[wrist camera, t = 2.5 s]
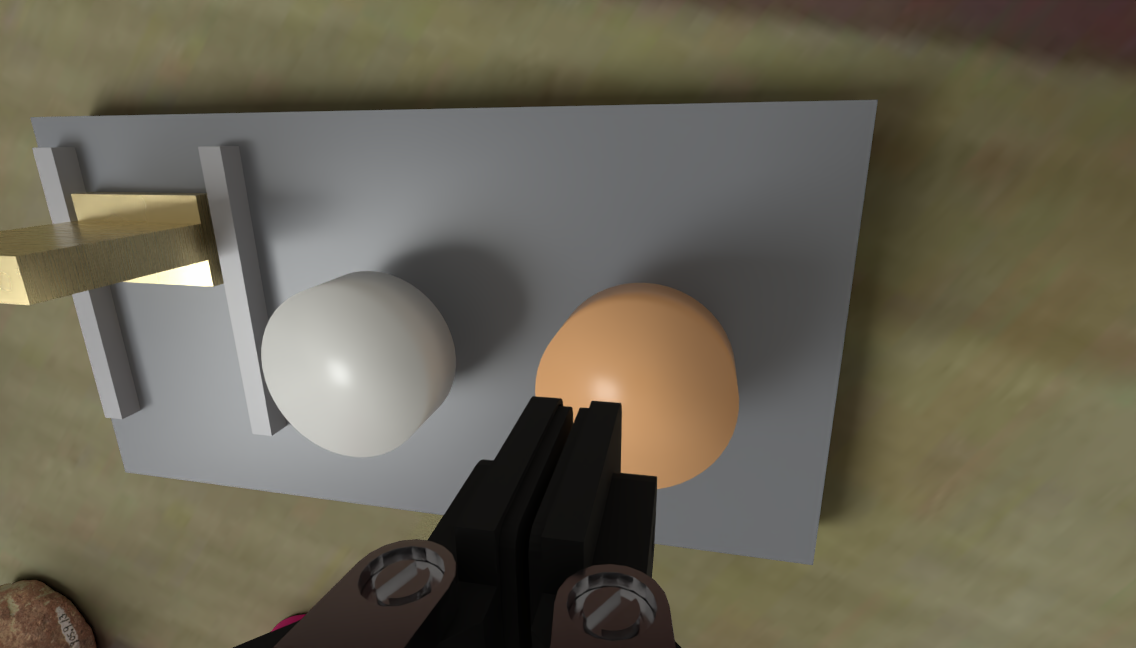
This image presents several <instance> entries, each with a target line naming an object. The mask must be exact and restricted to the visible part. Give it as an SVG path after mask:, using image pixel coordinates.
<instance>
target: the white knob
mask: <svg viewBox="0 0 1136 648" xmlns="http://www.w3.org/2000/svg"><path fill="white" fill-rule="evenodd" d="M261 360H262V369H263V373H264V377H265V381H266V384H267V387H268V389H269V392H270V394H271V396H272V398H273V400H274V402H275V403H276V405H277V407H278V408H279V410H280V411H281V413H282V414H283V415H284V417H285V418H286V419H287V420H288V421H289V422H290V424H291V425H292V426H293V427H294V428H295V429H296V430H298V431H299V432H300V433H301V434H302V435H303V436H305V437H306V438H307V439H309V440H310V441H312V442H313V443H315V444H317V445H319V446H320V447H322V448H324V449H327V450H329V451H331V452H334V453H338V454H341V455H346V456H351V457H373V456H377V455H382V454H384V453H387V452H390V451H392V450H394V449H395V448H397V447H399V446H400V445H401V444H403V443H404V442H405V441H406V440H407V439H408V438H409V437H410V436H411V435H412V434H413V433H414V432H415V431H416V430H417V429H418V428H419V427H420V426H421V425H422V424H423V423H424V422H425V421H426V420H427V419H428V418H429V417H430V416H431V415H432V414H433V413H434V412H435V411H436V410H437V409H438V408H439V407H440V405H441V404H442V403H443V402H444V400H445V399H446V397H447V396H448V394H449V392H450V390H451V387H452V384H453V381H454V377H455V370H456V355H455V347H454V343H453V339H452V336H451V333H450V331H449V328H448V326H447V324H446V322H445V320H444V318H443V316H442V315H441V313H440V312H439V311H438V309H437V308H436V306H435V305H434V304H433V303H432V302H431V301H430V300H429V298H428V297H426V296H425V295H424V294H423V293H422V292H421V291H420V290H418V289H417V288H416V287H414V286H413V285H411V284H410V283H408V282H406V281H404V280H402V279H400V278H398V277H395V276H393V275H390V274H386V273H382V272H375V271H359V272H353V273H349V274H346V275H343V276H340V277H338V278H335V279H333V280H330V281H328V282H325V283H322V284H320V285H317V286H315V287H312V288H309V289H307V290H304V291H302V292H299V293H297V294H295V295H293V296H291V297H290V298H288V299H287V300H286V301H284V302H283V303H282V304H281V305H280V306H279V307H278V308H277V309H276V310H275V312H274V313H273V315H272V316H271V318H270V319H269V322H268V324H267V326H266V328H265V332H264V335H263V340H262V347H261Z"/></svg>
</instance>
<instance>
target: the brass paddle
mask: <svg viewBox="0 0 1136 648" xmlns="http://www.w3.org/2000/svg"><path fill="white" fill-rule="evenodd" d="M71 196H72V200H73V204H74V208H75V212H76V215H77V219H78V221H72V222H64V223H57V224H50V225H42V226H35V227H28V228H20V229H13V230H6V231H0V303H6V304H22V305H32V304H36V303H40V302H44V301H48V300H52V299H56V298H60V297H64V296H68V295H72V294H76V293H80V292H84V291H88V290H92V289H96V288H100V287H104V286H108V285H112V284H116V283H119V282H134V283H154V284H173V285H192V286H211V287H214V286H217V285H220V284H223V283H224V281H223V276H222V271H221V265H220V260H219V255H218V250H217V244H216V239H215V234H214V229H213V223H212V218H211V213H210V208H209V202H208V197H207V193H151V192H86V193H75V194H71Z"/></svg>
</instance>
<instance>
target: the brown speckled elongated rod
mask: <svg viewBox="0 0 1136 648" xmlns="http://www.w3.org/2000/svg"><path fill="white" fill-rule="evenodd" d="M0 648H97V647H96V642H95V637H94V635H93V632H92V629H91V627H90V626H89V625H88V624H87V623H86V622H85V619H84V618H83V616H82V615H81V614H80V612H79V611H78V610H77V608H76V607H75V606H74V605H73V603H72V602H71V601H70V600H69V599H67V598H66V597H65V596H63V595H61V594H60V593H58V592H56V591H53V589H52V588H50V587H49V586H47V585H46V584H44V583H43V582H41V581H38V580H22V581H18V582H15V583H13V584H4V585H1V586H0Z"/></svg>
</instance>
